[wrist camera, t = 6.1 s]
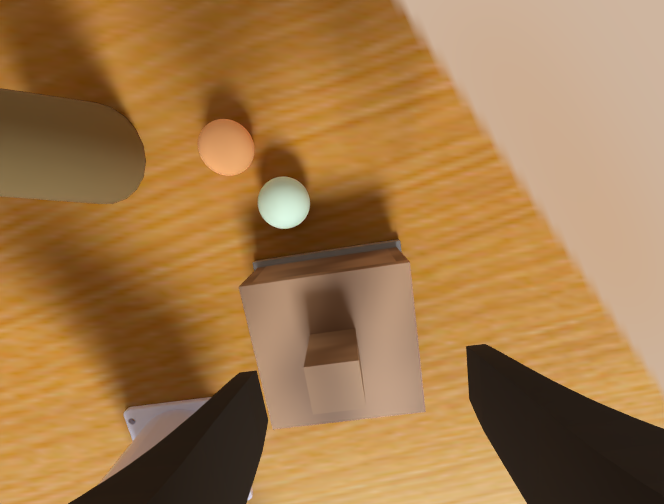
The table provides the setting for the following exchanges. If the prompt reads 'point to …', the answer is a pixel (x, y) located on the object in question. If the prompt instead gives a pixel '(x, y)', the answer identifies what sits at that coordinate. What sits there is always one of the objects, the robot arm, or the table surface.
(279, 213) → the mint ball
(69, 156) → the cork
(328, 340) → the walnut cover
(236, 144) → the terracotta ball
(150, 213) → the table surface
